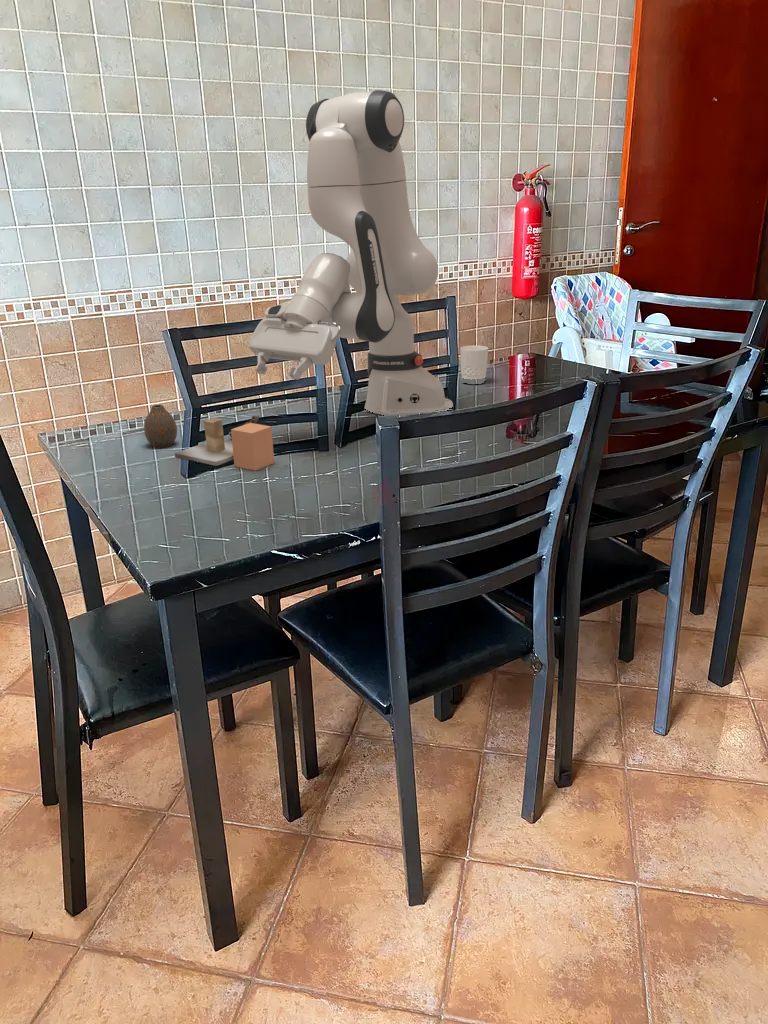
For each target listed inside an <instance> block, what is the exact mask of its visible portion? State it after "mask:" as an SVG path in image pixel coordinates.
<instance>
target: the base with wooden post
mask: <svg viewBox="0 0 768 1024" xmlns="http://www.w3.org/2000/svg"><path fill="white" fill-rule="evenodd" d="M203 424H204V426H203V427H204V433H205V434H204V435H205V442H203V443H200V444H197V445H195V446H192V447H189V448H186V449H183V450H180V451H176V452H175V453H174V456H175V458H179V459H185V460H189V461H193V462H198V463H200V464H201V463H202V464H207V465H211V466H215V467H217V466H220V465H223V464H225V463H228V462H231V461H234V455H233V445H232V441H231V440H226V439H225V436H224V428H223V427H224V425H223V420H222V419H221V418H215V417H212V418H210V419H206V420H203Z"/></svg>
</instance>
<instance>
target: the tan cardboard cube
mask: <svg viewBox="0 0 768 1024" xmlns="http://www.w3.org/2000/svg"><path fill="white" fill-rule="evenodd" d="M245 424H246V423H245ZM272 427H273V426H272V425H271V426H270V425H266V424H260V423H259V424H256V423H249V424H246V425H244V424H242V425H240V426H237V427H234V428H232V429H230V432H231V435H232V438H231V442H232V445H233V455H234V459H233V463H234V467H236V468H240V469H247V470H249V471H250V470H251V471H257V470H258V471H259V470H261V469H264V468H266V467H268V466H270V465H273V464H275V455H274V443H273V429H272Z"/></svg>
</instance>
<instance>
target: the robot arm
mask: <svg viewBox="0 0 768 1024" xmlns="http://www.w3.org/2000/svg"><path fill="white" fill-rule="evenodd" d="M402 105H403V104H401V102H400V100H399V99H398V97H397V96H396V94H394V93H393V92H391V91H387V90H383V89H382V90H379V89H375V90H373V91H356V92H355V91H354V92H349V93H347V94H344V95H339V96H336V97H332V98H323V99H321V100H319V101H317V102H315V103H314V104H312V105H311V107H310V108H309V110H308V113H307V117H306V119H305V131H306V135H307V138H308V139H307V140H309V143H308V152H307V162H306V163H307V165H306V180H307V199H308V207H309V211H310V215H311V218H312V219H313V221H314V222H315V223H316V224H317V225H318V226H319V227H320V228H321V229H322V230H324V231H325V232H327V233H329V234H331V235H333V236H335V237H337V238H339V239H340V240H342V241H343V242H345V243H346V244H347V245H348V246H349V247H350V249H351V250H352V251H351V252H350V253H348V255H347V257H346V259H345V258H344V257H342V256H340V255H339V254H335V253H330V252H329V253H327V252H326V253H319V254H317V255H316V256H315V257H314V259H313V260H312V261H311V262H310V263H309V266H308V267H307V269H306V270H305V271H304V274H303V276H302V277H301V278H300V281H299V286H298V289H297V290H296V292H295V293H294V294H293V295H292V296H291V299H290V300H287V301H285V302H282V303H280V304H276V305H272V306H268V307H267V308H265V311H264V316H265V318H262V319H261V321H260V322H259V323H258V324H257V326H256V328H255V329H254V331H253V332H252V334H251V336H250V338H249V341H248V348H249V350H250V351H251V352H252V353H253V354H254V355H255V356H256V357H257V365H256V366H255V368H254V371H255V372H256V373H257V374H258V375H266V372H267V371H268V369H269V368H268V366H266V362H268V361H269V360H270V359H275V360H276V359H277V360H283V361H290V362H291V361H292V362H298V363H299V364H297V365H296V367H291V370H290V372H289V375H288V376H289V377H290V378H291V379H293V380H296V381H297V380H300V379H301V377H302V374H304V373H305V372H306V371H308V370H309V369H310V368H311V366H312V365H321V366H325V365H327V364H328V363H329V362H330V361H331V358H332V356H333V354H334V351H335V349H336V346H337V345H336V344H337V341H338V338H341V339H342V338H343V339H349V340H351V339H352V340H361V341H364V342H368V346H369V347H368V349H369V350H368V352H367V358H366V364H367V374H368V385H367V387H368V388H367V394H366V395H367V396H366V399H365V404H364V408H363V409H364V410H365V409H366V410H365V411H367V410H368V411H367V412H369V411H370V412H369V413H372V412H373V414H377V415H378V414H379V415H381V416H383V415H407V414H418V413H432V412H439V411H447V410H452V411H453V409H454V403H453V401H452V400H451V399H450V398H446V396H445V391H444V386H443V384H442V382H441V380H440V379H438V378H437V377H436V376H435V375H433V374H432V373H430V371H428V370H427V369H426V368H425V367H423V363H424V358H423V355H422V354H421V353H420V352H419V353H418V352H417V351H415V347H414V346H415V344H414V342H415V339H414V338H415V337H414V335H415V334H414V333H415V332H414V331H415V330H414V329H415V326H414V323H415V322H414V320H413V317H412V316H411V315H410V313H408V312H407V311H406V310H405V309H404V307H403V306H402V303H401V301H400V299H399V296H417V295H420V294H425V293H428V292H430V291H431V290H432V289H433V287H434V286H435V285H436V282H437V279H438V276H439V266H438V262H437V259H436V257H435V255H434V254H433V252H432V251H430V250H429V249H428V248H427V247H426V246H425V244H423V242H422V240H421V238H420V237H419V235H418V233H417V231H416V228H415V226H414V223H413V221H412V217H411V213H410V205H409V204H410V203H409V196H408V187H407V185H408V184H407V177H406V168H405V161H404V156H403V155H404V154H403V151H402V147H401V143H400V139H401V137H402V135H403V131H404V128H405V114H404V109H403V106H402ZM350 287H352V289H353V290H354V291H355V293H352V291H351V288H350ZM452 407H453V409H449V408H452ZM441 409H445V410H441ZM435 410H438V411H435Z"/></svg>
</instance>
